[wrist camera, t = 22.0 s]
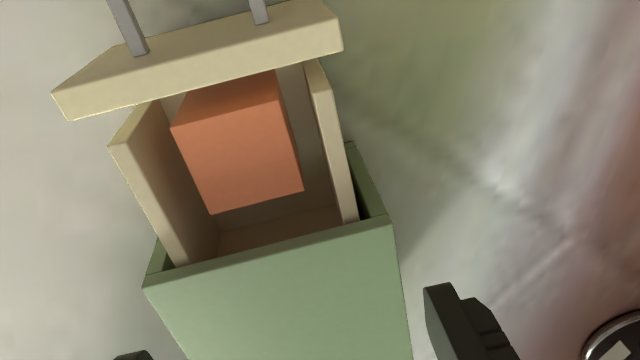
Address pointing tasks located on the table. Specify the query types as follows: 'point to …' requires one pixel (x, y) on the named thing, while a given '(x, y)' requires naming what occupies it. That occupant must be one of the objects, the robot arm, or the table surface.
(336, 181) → the drawer
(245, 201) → the block
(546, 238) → the table surface
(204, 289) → the cabinet
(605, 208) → the table surface
